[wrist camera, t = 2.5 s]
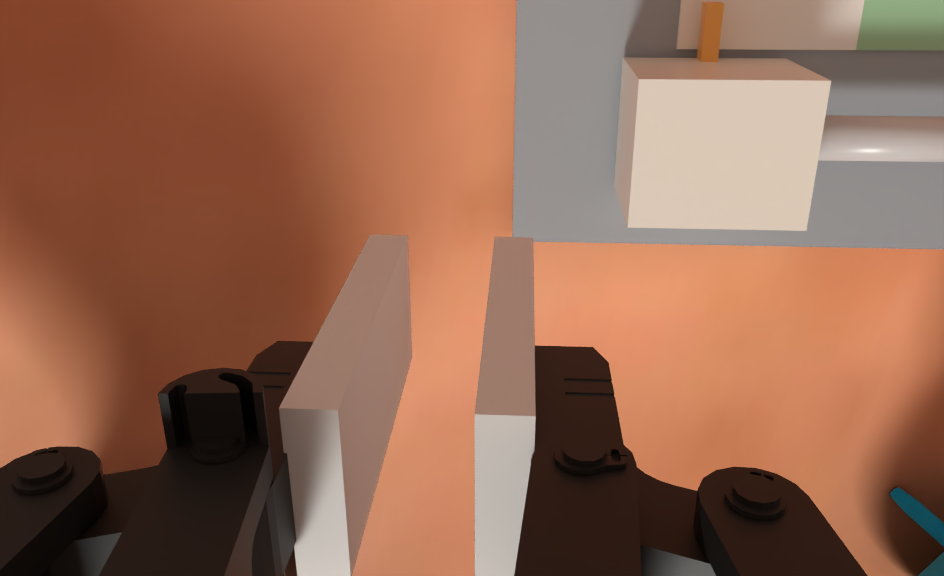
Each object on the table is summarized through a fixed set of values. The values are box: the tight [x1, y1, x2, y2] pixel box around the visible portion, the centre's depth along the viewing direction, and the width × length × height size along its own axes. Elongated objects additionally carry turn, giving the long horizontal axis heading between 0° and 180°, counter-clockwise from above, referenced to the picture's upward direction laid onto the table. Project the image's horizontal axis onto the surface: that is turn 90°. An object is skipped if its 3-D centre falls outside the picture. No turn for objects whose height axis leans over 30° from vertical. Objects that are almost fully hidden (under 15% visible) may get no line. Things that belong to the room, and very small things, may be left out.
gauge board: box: [513, 0, 944, 249], centre depth 29 cm, size 28×10×7 cm, turn 90°
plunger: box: [614, 2, 944, 231], centre depth 29 cm, size 14×7×5 cm, turn 90°
